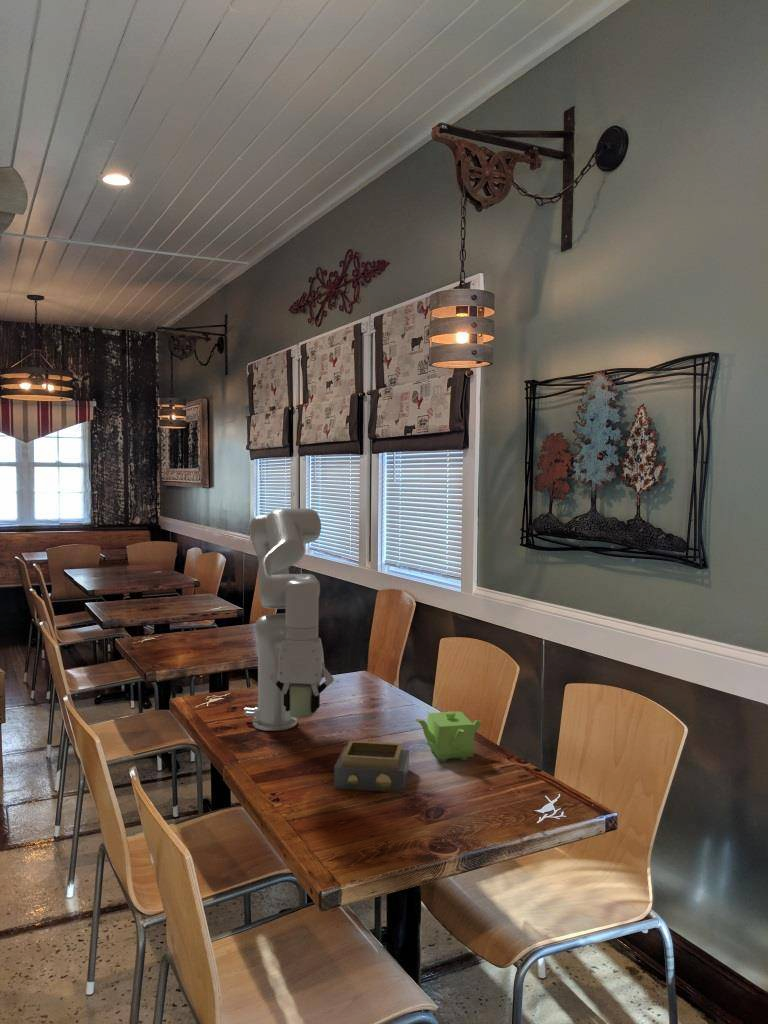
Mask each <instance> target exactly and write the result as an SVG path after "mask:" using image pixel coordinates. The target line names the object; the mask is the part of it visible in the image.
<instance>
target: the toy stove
mask: <svg viewBox="0 0 768 1024" xmlns="http://www.w3.org/2000/svg"><path fill="white" fill-rule="evenodd" d="M403 746H404V745H403V743H397V742H395V743H393V742H379V741H364V740H363V741H362V740H361V741H360V740H349V741H348V743H347V745H344V746H343V748H342V750H341V751H340V754H339V756H338V758H337V759H336V760H337V761H336V763H335V764H334V766H333V787H334V788H333V789H339V790H356V791H368V792H370V791H371V792H385V793H388V792H389V793H398V794H403V793H404V792H405V788H406V785H407V779H408V775H409V772H410V750H409V749H403Z"/></svg>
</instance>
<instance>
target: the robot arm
mask: <svg viewBox="0 0 768 1024" xmlns="http://www.w3.org/2000/svg"><path fill="white" fill-rule="evenodd" d="M249 533H250V538H251V539H250V540H251V543H252V545H253V546H252V547H253V549H254V551H255V553H256V557H257V561H258V568H257V585H258V590H259V591H258V592H259V602H260V604H261V606H262V607H263V608H265V609H269V610H274V609H275V610H277V609H278V610H281V609H283V610H284V609H285V612H284V613H270V614H269V613H268V614H265V615H264V614H263V615H262V616H260V617H259V618H257V619H256V621H255V624H254V635H255V641H256V647H257V649H256V650H257V701H258V702H257V706H256V707H255V708H254V707H245V708H243V714H244V715H245V717H249V718H250V717H251V718H252V717H253V719H252V727H254V728H255V729H258V730H261V731H266V732H278V731H285V730H288V729H289V730H290V729H292V728H294V727H295V726H297V724H298V718H294V717H291V716H290V684H308V685H311V687H312V690H313V695H312V697H311V712H312V713H313V714H315V713H316V711H318V709H319V708H320V707H321V706H320V705H321V704H320V703H321V701H320V697H321V693H322V692H323V691H324V690H325V689H327V687H329V686H330V685H331V684H332V683H334V681H335V678H334V677H333V675H332V674H331V673H330V672H329V671H328V669H327V668H326V667H325V660H324V659H325V657H324V648H323V644H322V643H323V642H322V638H321V637H319V597H320V595H321V584H320V581H319V580H318V579H317V577H316V576H315V575H314V574H311V573H289V572H290V570H289V569H290V568H289V567H292V566H293V565H295V564H298V563H299V562H300V561H301V560H302V559H303V557H304V554H305V545H306V544H310V543H313V542H314V541H317V539H318V538H320V535H321V533H322V522H321V518H320V515H319V514H318V512H317V511H315V510H314V509H312V508H280V509H275V510H273V511H271V512H269V513H265V514H260V515H256V516H255V517H253V518H252V519H251V521H250V524H249ZM304 544H305V545H304ZM323 678H324V680H325V681H323V682H322V683H321V681H322V680H323Z"/></svg>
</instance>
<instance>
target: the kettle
mask: <svg viewBox="0 0 768 1024" xmlns="http://www.w3.org/2000/svg"><path fill="white" fill-rule="evenodd" d="M414 721H415V722H417V723H419V724H420V726H421V727H422V730H423V734H424V737H425V738H426V739H425V740H427V745H428V747H429V748H430V749H431V751H432V754H434V755H435V756H436V757H437V760H438V762H441V763H445V762H448V759H458V760H460V761H467V760H468V759H469V758H473V757H474V752H475V750H474V746H475V745H474V742H475V741H474V740H475V739H474V738H475V734H476V732H478V730H479V728H480V726H481V724H482V723H483V722H482V721H481V720H479V719H475V720H473V722H472V721H471V720H470V719H469V718H468V717H467V716H466V714H464V713H463V712H462V711H457V710H456V711H452V710H451V711H442V712H428V713H427V722H426V721H425V720H424V719H423V718H422V719H421V718H419V719H417V718H416V719H414Z"/></svg>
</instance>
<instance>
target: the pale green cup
mask: <svg viewBox="0 0 768 1024" xmlns="http://www.w3.org/2000/svg"><path fill="white" fill-rule="evenodd" d="M312 695H313V690H312V687H311V685H308V684H290V716H291V717H294V718H297V719H306V718H309V717H312V716H313V715H314V713H312V712H311V697H312Z"/></svg>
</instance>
